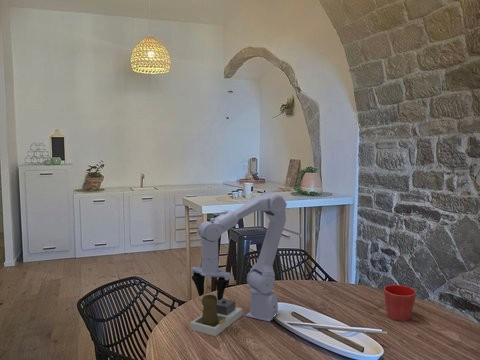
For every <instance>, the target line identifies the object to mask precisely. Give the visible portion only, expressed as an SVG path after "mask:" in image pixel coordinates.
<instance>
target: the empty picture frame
mask: <svg viewBox="0 0 480 360" xmlns="http://www.w3.org/2000/svg"><path fill="white" fill-rule="evenodd" d="M216 311H217V317H218V325H217V326H215V327H212V326H208V325H204V324H202V316H203V313H202V314H200V315H199V316H198V317H196V318H195V319H193V320H192V321H190V322H189V327H190V328H189V329H190V331H195V332H198V333H201V334H205V335H209V336H213V337H216V336H218V335H219V334H221V333H222V332H223V331H225V330H226V329H227V328H229V326H231V325H232V324H233V323H235V322H236V321H237V320H239V319H240V318H241V317H242V316H243V308H240V307H236V300H231V299H229V298H228V299H227V298H222V299H221V300H218V299H217V304H216Z"/></svg>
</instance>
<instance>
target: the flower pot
mask: <svg viewBox="0 0 480 360" xmlns="http://www.w3.org/2000/svg"><path fill="white" fill-rule="evenodd" d="M383 295H384V302H385V309H386V315H387V317H389V318H390V319H392V320H394V321H401V322H404V321H405V322H406V321H409V320H410V319H411V317H412V313H413V309H414V304H415V300H416V295H417V291H416V290H415V289H414V288H412V287H410V286H406V285H402V284H401V285H400V284H389V285H385V286H384V288H383Z"/></svg>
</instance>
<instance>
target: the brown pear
mask: <svg viewBox="0 0 480 360" xmlns="http://www.w3.org/2000/svg"><path fill="white" fill-rule="evenodd" d="M217 301H218V298H217V295H214V294H206V295H204V296H202V299H201V304H202V306H203V309H202V314H203V316H202V324H204V325H208V326H212V327H215V326H217V325H218V324H219V323H218V317H217V311H216V304H217Z"/></svg>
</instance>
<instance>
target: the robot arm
mask: <svg viewBox="0 0 480 360" xmlns="http://www.w3.org/2000/svg"><path fill="white" fill-rule="evenodd" d="M287 205H288V203H287V202H286V200H285V199H284V197H283V196H281V195H280V194H272V193H270V192H269V193H268V192H265V191H264V192H262V193H260V194H257V195H255V196H254V197H253V198H252V199H251V200H249V201H248V202H246V203H244V204H243V205H241V206H240V207H238V208H236V209H235V210H233V211H232V210H223V211H222V213H221V214H219V215H218V216H216V217H211V218H210V221H206V220H205V221H203V222H201V224H200V225H199V226H198V229H197V233H198V236H199V238H200V257H201V262H200V263H201V267H199V266H193V267H191V268H190V274H191V281H192V282H193V283H194V285H195V287H196V290H197V294H198V296H199V297H201V296H202V297H203V295H205V278H206V277H212V278H218V279H216V280H214V283H215V287H216V294H217V295H216V298H217V301H218V300H221V299H222V298H223V297H224V293H225V289H226V287H227V284H228V282H229V281H230V280H231V272H228V271H224V270H223V269H220V268H219V266H220V265H219V239H220V238H221V236H222V234H224V233H225V232H227V231H229V230H231V229H232V228H234V227H236V226H237V225H238V222H239V220H241V219H243V218H245V217H248V216H249V215H251V214H254V213H255V212H257V211H262V212H264V213H265V215H266V216H267V218H268V220H269V223H268V225H267V229H266V233H265V236H264V239H263V242H262V245H261V248H260V253H259V255H258V256H259V257H258V260H257V262H255V263H254V264H253V265H252V267H251V270H250V271H249V272H248V273H247V276H246V282H247V284H248V285H249V288H250V290H249V292H250V297H249V298H250V304H249V305H250V311H249V312H247V314H246V315H245V316H246V317H247V318H253V319H256V320H261V321H265V322H271V321H272V320H274V318H273V316H274V315H275V314H277V313H278V312H279V311H278V309H279V308H278V307H279V305H278V303H279V302H278V300H279V299H278V298H279V297H278V294H277V293H275V292H273V289H274V287H275V276H276V273H275V271H274V268H273V265H274V261H275V259H276V255H277V251H278V248H279V245H280V242H281V238H282V234H283V231H284V229H285V225H286V220H287V216H286V214H287V213H286V208H287ZM223 299H224V298H223ZM278 314H279V313H278ZM278 314H277V315H278Z"/></svg>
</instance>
